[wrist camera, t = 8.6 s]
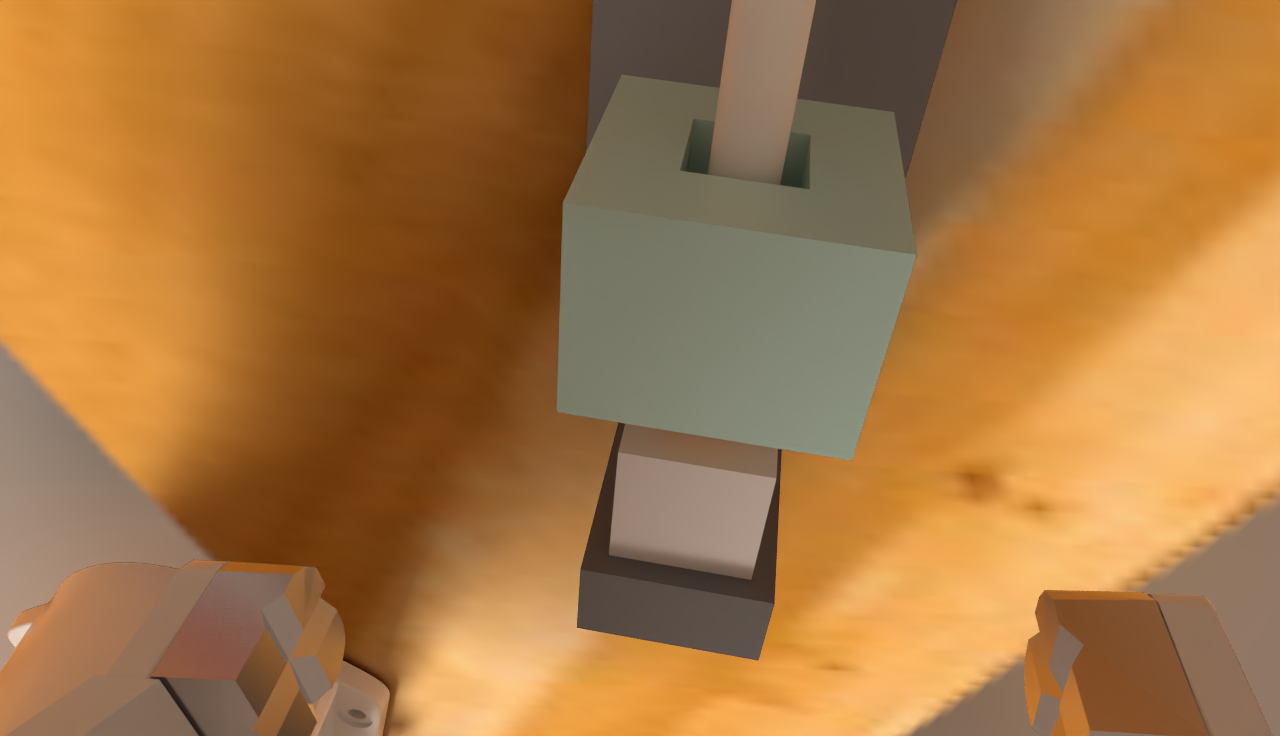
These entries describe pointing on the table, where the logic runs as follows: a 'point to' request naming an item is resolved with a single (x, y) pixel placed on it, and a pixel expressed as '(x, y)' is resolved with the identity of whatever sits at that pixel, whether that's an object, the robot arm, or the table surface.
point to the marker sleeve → (732, 274)
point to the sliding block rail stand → (755, 151)
